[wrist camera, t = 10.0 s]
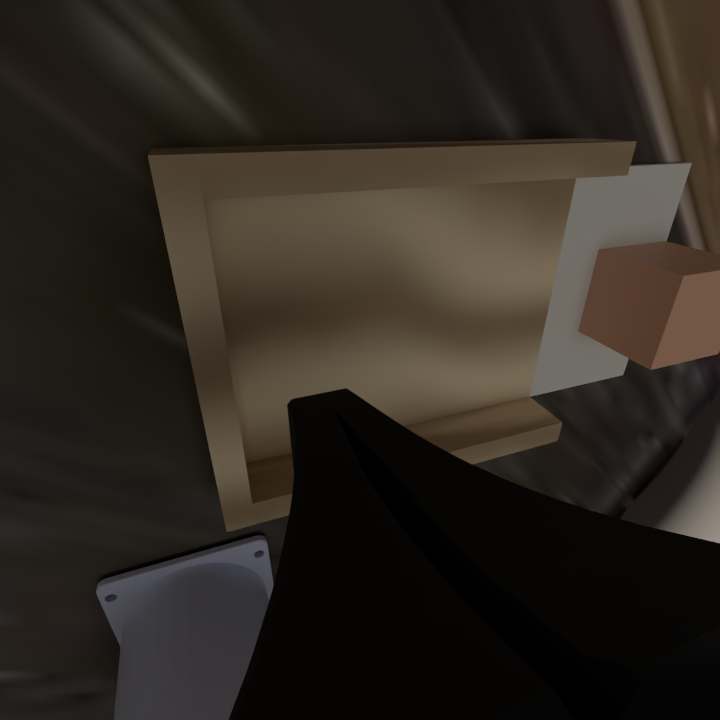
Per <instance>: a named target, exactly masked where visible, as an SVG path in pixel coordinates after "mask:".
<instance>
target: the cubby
mask: <svg viewBox="0 0 720 720" xmlns="http://www.w3.org/2000/svg"><path fill="white" fill-rule="evenodd" d="M636 142H637V141H620V140H602V139H585V138H561V139H519V140H478V141H436V142H395V143H353V144H311V145H270V146H228V147H187V148H152V149H151V150H150V152H149V154H148V159H149V164H150V169H151V174H152V178H153V183H154V188H155V193H156V197H157V202H158V207H159V212H160V217H161V221H162V226H163V231H164V236H165V240H166V245H167V250H168V255H169V259H170V264H171V269H172V274H173V278H174V283H175V288H176V293H177V298H178V302H179V307H180V312H181V317H182V321H183V326H184V331H185V336H186V340H187V345H188V350H189V355H190V359H191V364H192V369H193V374H194V378H195V383H196V388H197V393H198V398H199V402H200V407H201V412H202V417H203V421H204V426H205V431H206V436H207V440H208V445H209V450H210V455H211V459H212V464H213V469H214V474H215V478H216V483H217V488H218V493H219V498H220V502H221V507H222V512H223V517H224V521H225V526H226V531H227V532H230V531H233V530H237V529H240V528H244V527H248V526H251V525H255V524H259V523H262V522H266V521H269V520H273V519H277V518H280V517H284V516H287V515H289V513H290V506H291V500H292V491H293V480H294V470H293V460H292V450H291V440H290V429H289V419H288V409H287V404H288V403H289V402H290V401H291V400H292V399H294V398H299V397H305V396H310V395H315V394H320V393H325V392H330V391H335V390H340V389H345V388H347V389H348V390H350V391H352V392H353V393H355V394H356V395H358V396H359V397H360V398H362V399H363V400H365V401H366V402H368V403H369V404H371V405H372V406H374V407H375V408H377V409H378V410H380V411H381V412H383V413H384V414H386V415H387V416H389V417H390V418H392V419H393V420H395V421H396V422H398V423H399V424H401V425H402V426H404V427H406V428H407V429H409V430H410V431H412V432H414V433H415V434H417V435H419V436H420V437H422V438H424V439H425V440H427V441H429V442H431V443H432V444H434V445H436V446H438V447H440V448H442V449H443V450H445V451H447V452H449V453H451V454H452V455H454V456H456V457H458V458H460V459H462V460H464V461H466V462H468V463H470V464H475V463H479V462H483V461H486V460H490V459H493V458H497V457H501V456H504V455H508V454H512V453H515V452H519V451H522V450H526V449H530V448H533V447H537V446H540V445H544V444H548V443H551V442H555V441H558V437H559V433H560V430H561V426H562V422H561V421H560V420H558V419H557V418H556V417H555V416H553V415H552V414H551V413H550V412H548V411H547V410H546V409H544V408H543V407H542V406H541V405H539V404H538V403H537V402H536V401H534V400H533V399H532V398H531V397H530V393H531V388H532V383H533V379H534V374H535V369H536V365H537V360H538V355H539V350H540V346H541V341H542V336H543V332H544V327H545V322H546V318H547V313H548V308H549V304H550V299H551V294H552V290H553V285H554V280H555V276H556V271H557V266H558V262H559V257H560V252H561V248H562V243H563V238H564V233H565V229H566V224H567V219H568V215H569V210H570V205H571V201H572V196H573V191H574V187H575V182H576V178H591V177H608V176H626V175H628V172H629V168H630V165H631V161H632V157H633V153H634V150H635V146H636Z"/></svg>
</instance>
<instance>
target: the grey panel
mask: <svg viewBox="0 0 720 720" xmlns="http://www.w3.org/2000/svg"><path fill="white" fill-rule="evenodd" d="M691 164H692V163H685V162H682V163H662V164H642V165H630V168H629V172H628V175H626V176H608V177H591V178H576V182H575V187H574V191H573V196H572V201H571V205H570V210H569V215H568V219H567V224H566V229H565V233H564V238H563V243H562V248H561V252H560V257H559V262H558V266H557V271H556V276H555V280H554V285H553V290H552V294H551V299H550V304H549V308H548V313H547V318H546V322H545V327H544V332H543V336H542V341H541V346H540V350H539V355H538V360H537V365H536V369H535V374H534V379H533V383H532V388H531V393H530V397H531V396H535V395H539V394H544V393H548V392H552V391H556V390H561V389H565V388H569V387H573V386H578V385H582V384H586V383H591V382H595V381H599V380H603V379H608V378H612V377H616V376H620V375H623V374H624V371H625V368H626V365H627V361H628V358H627V357H625V356H623V355H622V354H620V353H618V352H616V351H614V350H612V349H610V348H608V347H607V346H605V345H603V344H601V343H599V342H597V341H595V340H593V339H592V338H590V337H588V336H586V335H584V334H582V333H580V332H578V330H579V326H580V322H581V318H582V314H583V310H584V306H585V302H586V298H587V294H588V290H589V286H590V282H591V278H592V274H593V270H594V266H595V262H596V258H597V254H598V250H599V249H605V248H613V247H621V246H629V245H637V244H645V243H654V242H662V241H667V238H668V235H669V232H670V229H671V226H672V223H673V220H674V217H675V213H676V210H677V207H678V204H679V201H680V198H681V195H682V192H683V189H684V186H685V183H686V179H687V176H688V173H689V170H690V167H691Z"/></svg>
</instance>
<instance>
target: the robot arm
mask: <svg viewBox="0 0 720 720" xmlns="http://www.w3.org/2000/svg"><path fill="white" fill-rule="evenodd" d="M287 409H288V419H289V429H290V440H291V450H292V460H293V470H294V480H293V491H292V500H291V506H290V513H289V519H288V524H287V530H286V535H285V540H284V545H283V549H282V553H281V557H280V562H279V566H278V570H277V574H276V578H275V582H274V584H273V577H272V570H271V564H270V557H269V550H268V544H267V540H266V537H264V536H261V535H257V536H253V537H250V538H246V539H243V540H239V541H236V542H232V543H229V544H225V545H222V546H218V547H214V548H211V549H207V550H204V551H200V552H197V553H193V554H190V555H186V556H183V557H179V558H176V559H172V560H169V561H165V562H162V563H158V564H155V565H151V566H148V567H144V568H141V569H137V570H134V571H130V572H127V573H123V574H120V575H116V576H112V577H109V578H106V579H103V580H101V581H100V582H99V583H98V585H97V588H96V595H97V597H98V599H99V601H100V603H101V606H102V608H103V610H104V612H105V614H106V617H107V619H108V621H109V623H110V625H111V628H112V630H113V632H114V634H115V636H116V639H117V641H118V643H119V645H120V647H121V648H120V658H119V669H118V679H117V689H116V700H115V710H114V720H720V543H715V542H711V541H706V540H702V539H698V538H694V537H689V536H685V535H681V534H677V533H672V532H668V531H664V530H659V529H655V528H651V527H646V526H643V525H639V524H635V523H631V522H628V521H625V520H621V519H618V518H614V517H611V516H608V515H604V514H601V513H597V512H594V511H590V510H587V509H584V508H581V507H578V506H575V505H572V504H569V503H566V502H563V501H560V500H557V499H555V498H552V497H549V496H546V495H544V494H541V493H538V492H536V491H533V490H530V489H528V488H525V487H522V486H520V485H517V484H515V483H512V482H510V481H508V480H505V479H503V478H501V477H498V476H496V475H494V474H492V473H490V472H487V471H485V470H483V469H481V468H479V467H476V466H474V465H472V464H470V463H468V462H466V461H464V460H462V459H460V458H458V457H456V456H454V455H452V454H451V453H449V452H447V451H445V450H443V449H442V448H440V447H438V446H436V445H434V444H432V443H431V442H429V441H427V440H425V439H424V438H422V437H420V436H419V435H417V434H415V433H414V432H412V431H410V430H409V429H407V428H406V427H404V426H402V425H401V424H399V423H398V422H396V421H395V420H393V419H392V418H390V417H389V416H387V415H386V414H384V413H383V412H381V411H380V410H378V409H377V408H375V407H374V406H372V405H371V404H369V403H368V402H366V401H365V400H363V399H362V398H360V397H359V396H358V395H356V394H355V393H353V392H352V391H350V390H348V389H347V388H345V389H340V390H335V391H330V392H325V393H320V394H315V395H310V396H305V397H299V398H294V399H292V400H291V401H290V402H289V403H288V404H287ZM260 550H261V551H260ZM257 551H258V552H257ZM111 594H113V595H111Z"/></svg>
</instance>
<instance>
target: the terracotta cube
mask: <svg viewBox="0 0 720 720" xmlns="http://www.w3.org/2000/svg"><path fill="white" fill-rule="evenodd" d="M578 332H580V333H582V334H584V335H586V336H588V337H590V338H592V339H593V340H595V341H597V342H599V343H601V344H603V345H605V346H607V347H608V348H610V349H612V350H614V351H616V352H618V353H620V354H622V355H623V356H625V357H627V358H629V359H631V360H633V361H635V362H637V363H638V364H640V365H642V366H644V367H646V368H648V369H650V370H652V369H656V368H661V367H665V366H669V365H673V364H677V363H682V362H686V361H690V360H694V359H698V358H703V357H707V356H711V355H715V354H718V353H719V351H720V255H718V254H714V253H710V252H706V251H702V250H698V249H694V248H690V247H686V246H682V245H679V244H675V243H671V242H667V241H662V242H654V243H645V244H637V245H629V246H621V247H613V248H605V249H599V250H598V254H597V258H596V262H595V266H594V270H593V274H592V278H591V282H590V286H589V290H588V294H587V298H586V302H585V306H584V310H583V314H582V318H581V322H580V326H579V330H578Z"/></svg>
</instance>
